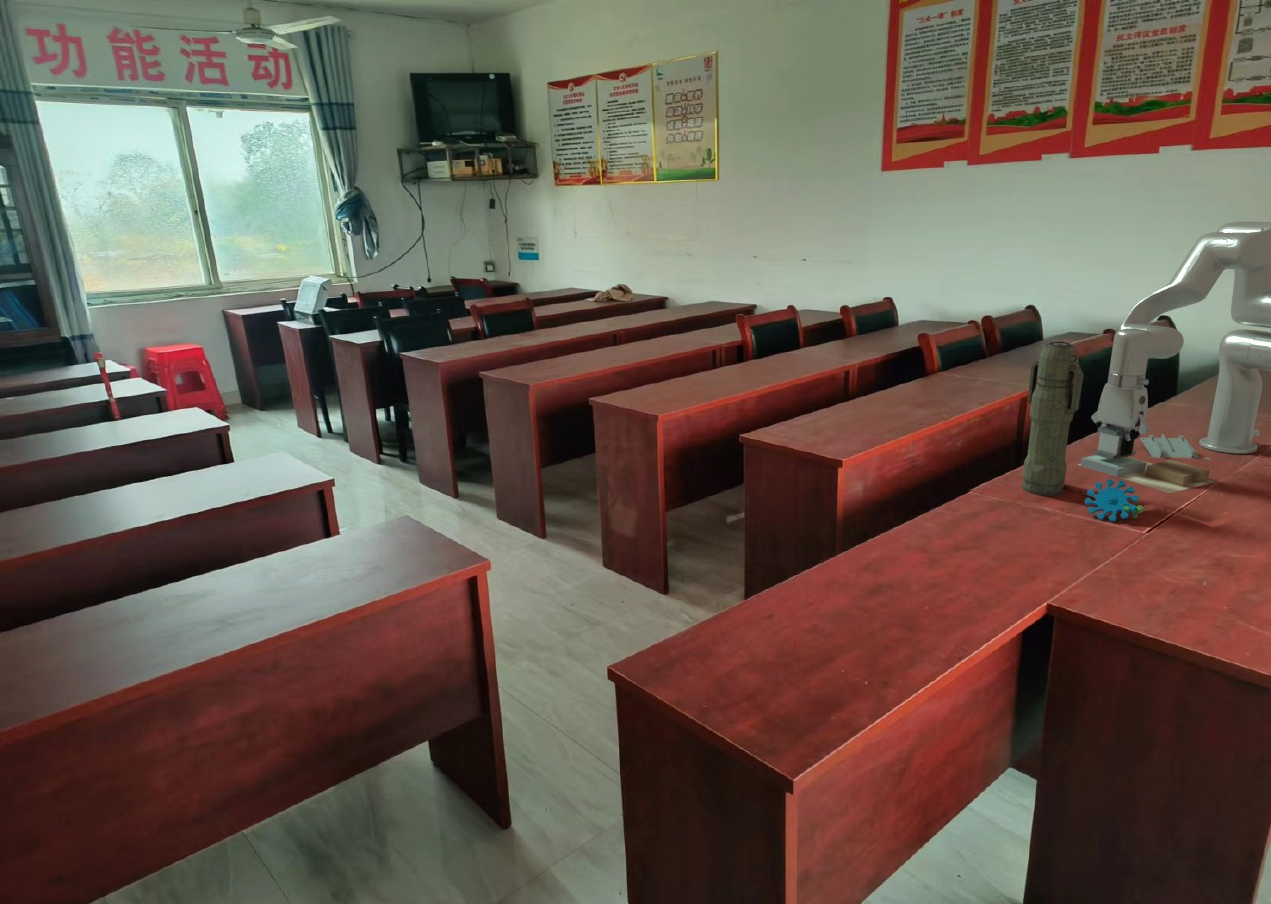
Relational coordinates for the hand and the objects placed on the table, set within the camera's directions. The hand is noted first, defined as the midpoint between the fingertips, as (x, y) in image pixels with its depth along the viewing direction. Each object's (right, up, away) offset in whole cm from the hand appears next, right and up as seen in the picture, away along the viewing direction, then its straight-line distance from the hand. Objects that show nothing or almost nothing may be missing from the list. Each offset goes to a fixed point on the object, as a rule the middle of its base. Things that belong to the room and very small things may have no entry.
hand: (1115, 451), depth 198 cm
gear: (-16, -15, -25) cm, 33 cm away
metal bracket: (+21, -2, +11) cm, 24 cm away
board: (+5, -6, -3) cm, 9 cm away
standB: (0, -4, +1) cm, 4 cm away
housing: (0, -1, 0) cm, 1 cm away
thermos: (-22, -9, -8) cm, 26 cm away
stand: (+10, -6, -7) cm, 14 cm away
